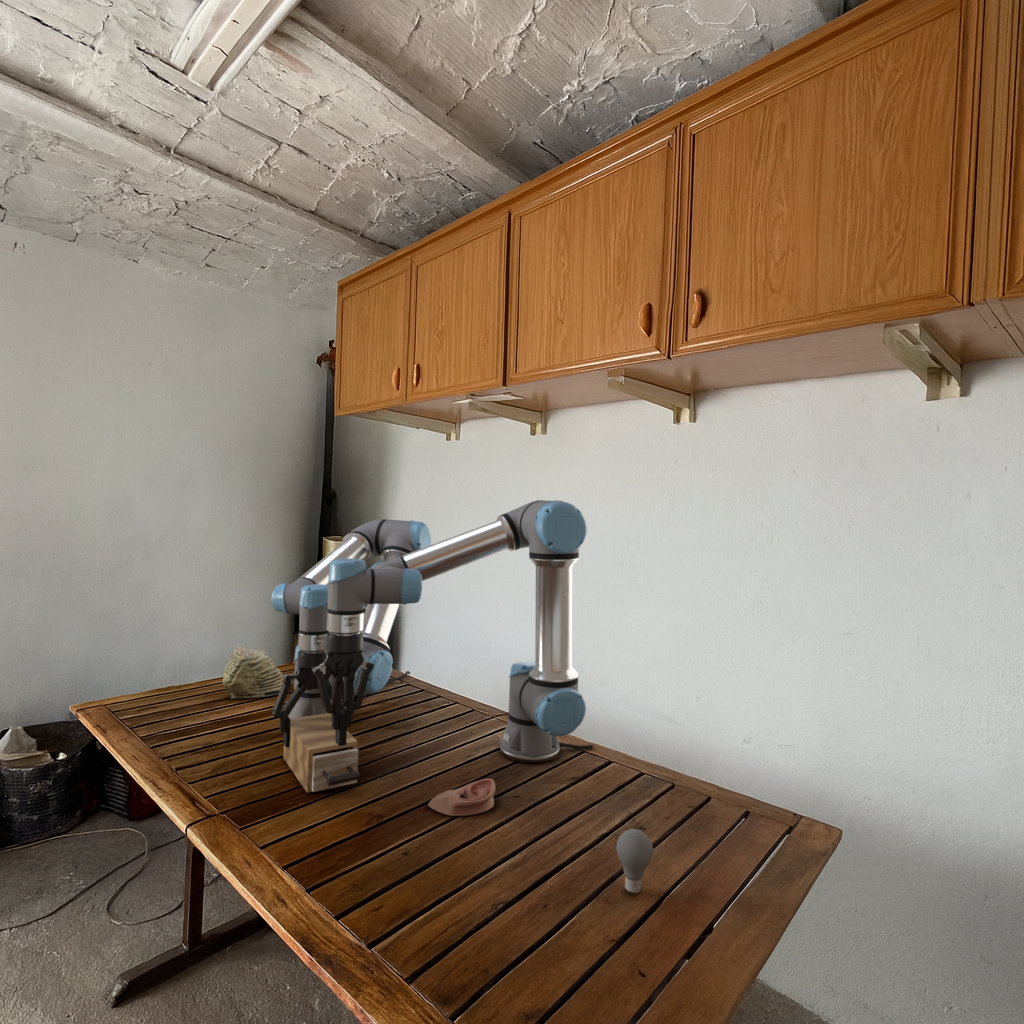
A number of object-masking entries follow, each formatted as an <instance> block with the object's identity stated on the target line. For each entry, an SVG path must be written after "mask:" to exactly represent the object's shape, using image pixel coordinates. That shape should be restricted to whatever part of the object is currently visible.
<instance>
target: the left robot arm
mask: <svg viewBox="0 0 1024 1024" xmlns="http://www.w3.org/2000/svg"><path fill="white" fill-rule="evenodd" d="M430 532H431V531H430V529H429V527H428V526H427V524H426V523H425V522H423V521H417V520H413V519H411V520H402V519H401V520H399V519H386V518H379V519H374V520H371V521H368V522H365V523H363V524H361V525H359V526H357V527H355V528H354V529H353V530H352V529H351V531H350V532H348V533H347V534H346V535H345V536H344V537H343V539H342V541H341V543H340V544H339V545H338V546H336V547H335V548H334V549H332V551H330V552H329V553H328V554H326V555H325V556H324V557H323V558H322V559H321V560H319V561H318V562H317V563H316V564H314V565H313V566H312V567H311V568H310V569H308V570H307V571H306V572H304V573H303V574H302V575H301V576H300V577H298V579H297V580H295V581H294V582H292V583H289V582H286V583H279V584H277V585H276V586H274V589H273V590H272V593H271V596H270V597H271V598H270V601H271V606H272V608H273V609H274V610H275V611H276V612H279V613H283V614H286V615H287V614H288V615H298V616H299V617H298V618H299V624H298V625H299V626H298V638H297V639H298V641H297V645H296V647H295V652H294V653H295V654H294V659H293V660H294V672H293V673H289V674H288V673H284V674H282V675H283V684H282V687H281V689H280V692H279V694H277V697H276V700H275V702H274V705H273V708H272V710H271V715H272V716H273V717H274V719H279V731H280V733H281V734H283V739H282V742H283V746H284V745H285V747H289V744H290V719H294V718H300V717H307V716H314V715H320V714H327V712H326V711H325V710H324V709H323V705H322V701H321V696H320V691H319V687H318V682H317V677H316V676H315V674H314V673H313V671H312V668H313V667H318V666H319V665H320V664H322V663H323V659H324V657H325V655H326V635H327V634H328V633H329V632H328V631H327V612H328V580H329V569H330V564H331V562H332V561H333V560H335V559H361V560H364V561H365V562H366V561H367V560H368V559H369V558H372V557H380V559H381V561H389V560H392V559H395V558H398V557H401V556H403V555H405V554H408V553H411V552H414V551H416V550H419V549H422V548H424V547H427V546H430V545H432V537H431V533H430ZM399 607H400V604H366V608H365V610H364V623H363V630H362V631H361V633H362V634H363V649H362V653H363V655H364V659H365V660H366V661H370V662H371V663H373V664H374V668H373V669H372V671H371V673H370V674H369V677H368V681H367V685H366V689H365V693H364V696H363V698H364V697H366V696H367V695H368V694H369V695H372V694H376V693H379V692H380V691H381V690H382V689H383V688H384V687H385V686H386V685H387V684H391V683H393V682H395V681H399V680H401V679H404V678H405V677H407V675H411V672H410V671H409V670H407V671H406V672H405V673H404V674H402V675H400V676H398V677H395V678H392V679H390V677H391V675H392V671H393V664H394V659H393V656H392V654H391V652H390V651H391V648H390V645H389V644H388V640H389V637H390V634H391V631H392V628H393V625H394V623H395V619H396V616H397V613H398V610H399ZM325 671H326V674H325V675H324V676H325V678H326V682H327V687H328V692H329V697H330V701H331V705H332V674H331V673H330V672H329V670H328V669H327V668H326V669H325ZM360 671H361V666H360V667H359V668H358V670H357V671H356V673H355V680H354V686H353V693H354V692H355V688H356V685H357V681H358V677H359V674H360ZM291 685H293V692H292V693H291V695H290V696H289V698H288V700H287V697H288V695H289V692H290V688H291ZM286 700H287V701H286ZM343 704H344V677H343V682H342V690H341V711H342V710H343V711H344V708H343ZM330 714H331V715H332V713H330Z"/></svg>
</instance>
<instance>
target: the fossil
mask: <svg viewBox="0 0 1024 1024" xmlns="http://www.w3.org/2000/svg"><path fill="white" fill-rule="evenodd" d="M283 675H284V674H283V673H282V672H281V669H279V668H278V667H277V665H276V663H275V662H274V660H273V659H272V658H271V657H270V656H269V655H268V654H267V653H266V652H265V650H264V649H263V648H260V647H258V648H251V647H247V646H246V647H245V646H238V647H237V648H236V649H235V650H233V651H232V653H231V656H230V657H229V659H228V660H227V663H226V666H225V668H224V671H223V675H222V676H223V677H222V685H223V687H224V688H225V690H226V691H228V693H229V698H230V699H250V698H264V697H271V696H275V695H278V694H279V692H280V689H281V687H282V684H283Z"/></svg>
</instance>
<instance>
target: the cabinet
mask: <svg viewBox="0 0 1024 1024" xmlns="http://www.w3.org/2000/svg"><path fill="white" fill-rule="evenodd" d="M331 725H332V715H331V714H330V713H327V714H320V715H314V716H307V717H300V718H294V719H290V744H289V747H285V745H284V744H283V756H282V757H283V760H284V761H285V762H286V764H287V766H288V767H289V768H290V771H292V773H293V774H294V776H295V777H296V779H297V780H298V782H299V783H300V785H301V786H302V789H304V791H305V792H306V793H314V792H313V791H312V768H313V754H315V753H320V752H325V751H331V750H336V749H342V748H347V747H350V749H355V748H357V749H358V740H357V739H356V738H355V737H354V736H353V735H352V734H351V733H350V732H349V731H348V730H347V737H346V745H343V746H339V745H338V744H337V743H336V742H335V734H336V730H334V729H333V728H332V726H331Z"/></svg>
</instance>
